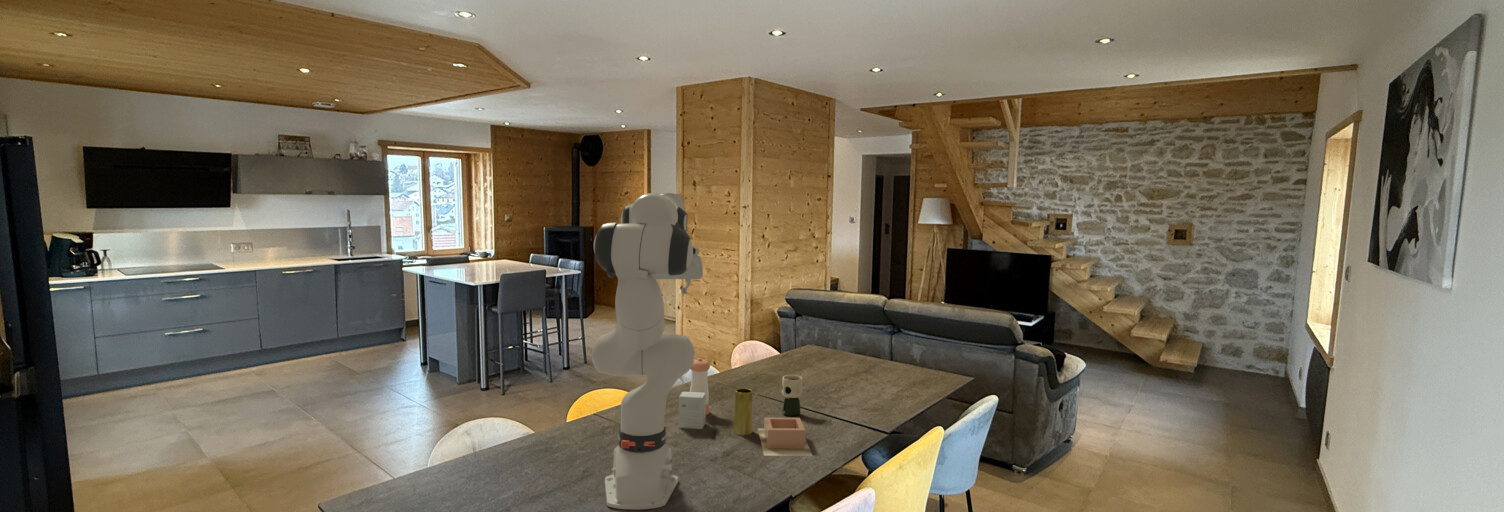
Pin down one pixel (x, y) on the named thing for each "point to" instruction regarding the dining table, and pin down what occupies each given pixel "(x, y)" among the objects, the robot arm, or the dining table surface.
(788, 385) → the character mug
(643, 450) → the robot arm
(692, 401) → the small box
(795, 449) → the board
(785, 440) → the pink open box
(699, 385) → the pepper shaker
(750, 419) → the vase
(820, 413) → the dining table surface
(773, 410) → the dining table surface
